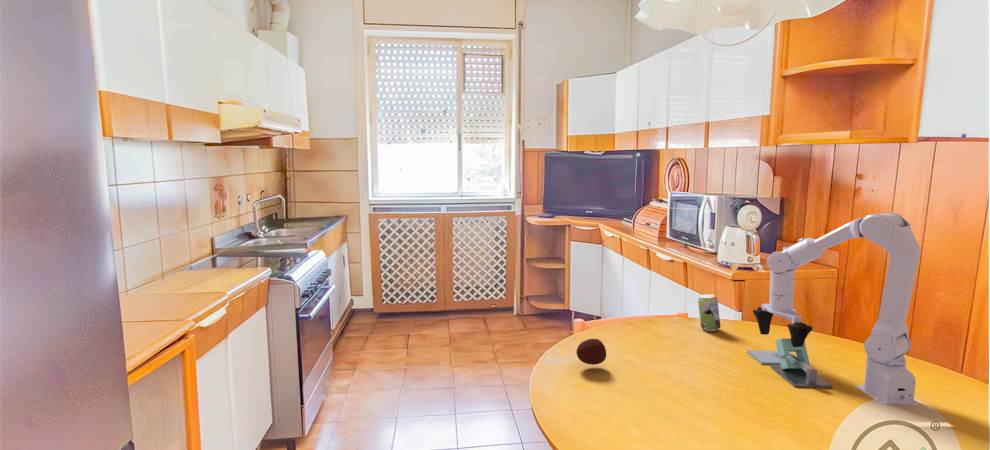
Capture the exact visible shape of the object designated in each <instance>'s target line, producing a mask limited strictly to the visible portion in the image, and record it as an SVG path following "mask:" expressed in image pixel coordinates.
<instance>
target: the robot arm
mask: <svg viewBox="0 0 990 450" xmlns="http://www.w3.org/2000/svg"><path fill="white" fill-rule="evenodd" d="M911 226H912V225H911V223H910V222H909V221H908V220H907V219H905V218H904V217H903V215H900V214H899V213H896V212H893V211H892V212H891V211H890V212H889V211H887V212H884V213H872V214H867V215H865V217H861V218H857V219H854V220H851V221H850V222H849V221H848V222H847V223H845V224H844V225H841V226H840V227H837V228H836V229H834V230H832V231H830V232H828V233H826V234H824V235H822V236H820V237H818V238H817V239H815V238H813V237H812V238H811V237H801V238H799V239H797V241H798V242H797V243H795V244H793V245H790V246H784V247H782V251H773V252H771V254H769V256H768V257H767V259H766V266H767V268H768V269H769V270H770V276H769V278H770V279H769V280H770V281H769V300H768V301H769V303H762V304H761V306H757V309H752V314H754V317H755V319H756V321H757V325H758V329H759V333H760V335H769V333H770V329H771V322H772V319H773V317H774V315H775V316H778V317H780V318H782V319H785V320H787V321H789V322H791V323H789V324H787V328H788V330H789V334H790V339H791V343H792V345H793V347H803V344H804V341H806V339H807V337H808V335H809V334H810V333H811V331H812V330H813V326H811V325H809V324H806V323H804V322H802V315H799V314H798V313H797V310H796V309H794V288H795V287H794V286H795V271H796V270H797V269H798V268H799V267H801V266H803V265H806V264H808V263H811V262H812V261H815V260H818V259H819V258H821V257H823V254H824V251H825V250H828V249H829V248H832V247H834V246H836V245H839V244H841V243H844V242H847V241H849V240H851V239H855V238H856V239H863V238H865V239H867V240H868V241H870V242H872V243H873V244H877V245H878V246H880V248H882V249H883V250H884V251H885V252H886V253H887V254H888V255H889V256H890V258H889V262H888V267H887V270H886V271H887V272H886V277H885V282H884V287H883V293H882V296H881V297H882V298H881V304H880V306H879V307H880V308H879V313H878V317H877V320H876V322H875V324H874V325H873V327H872V329H871V333H870V335H869V337H867V338H866V340H865V341H864V343H863V348H864V351H865V354H867V355H866V365H865V375H864V385H859V384H857V385H856V384H855V388H857V389H858V390H860V391H862V392H863V393H865V394H866V395H867V396H869V397H871V398H872V399H873V400H875V401H877V402H878V403H880V404H881V405H900V406H901V405H902V406H918V403H917V402H915V391H916V382H917V381H916V377H915V375H914V374H913V373H912V372H911V371H910V370H909V369H908V368H907V364H906V363H907V360H906V357H905V356H904V355H905V354H907V353H908V352H909V351H910V350H911V340H910V338H909V332H910V331H909V329H910V328H909V327H908V325H907V319H908V316H909V315H908V314H909V310H910V306H911V301H912V295H913V292H914V291H913V290H914V285H915V280H916V277H917V272H918V267H919V264H920V257H921V246H920V244H919V242H918V240H917V239H916V237H915V234H914V233H913V231H912V227H911ZM793 351H801V350H793Z"/></svg>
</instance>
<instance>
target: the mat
mask: <svg viewBox="0 0 990 450" xmlns="http://www.w3.org/2000/svg"><path fill="white" fill-rule="evenodd" d="M746 353H747V354H748V355H750V356H751V357H752V358H754V360H756V361H757V362H758V363H759V364H760V365H767V366H768V365H770V366H771V365H780V360H783V359H788V358H786V356H784V357H779V355H778V350H757V349H755V350H753V349H752V350H750V349H748V350H746ZM789 353H791V354H793V352H789ZM793 355H794V356H796V354H793ZM791 364H795V363H793V362H792V361H791Z"/></svg>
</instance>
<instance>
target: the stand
mask: <svg viewBox="0 0 990 450" xmlns="http://www.w3.org/2000/svg"><path fill="white" fill-rule="evenodd" d="M791 353H792V352H791ZM791 353H789V355H788V356H786V358H788V359H790V360H791V361H792V362H793V363H795V364H796V365H797V366H799V367H800V368H801V369H781V365H770V368H771V370H773V372H775V373H777V374H778V375H779V376H780V377H781V378H782V379H784V380H785V381H786V382H788V383H789V384H790V385H791V386H792V387H794V388H811V389H813V388H815V389H833V384H831V383H830V382H829V381H828V380H826V379H824V378H823V377H822V376H820V375H819V374H818V369H815V368H812V367H811V365H810V366H808V365H807V364H806V363H804V362H803V361H801V360H800V359H799V358H797V356H796V355H795V354H794V355H795V356H794V355H793V353H792V354H791Z"/></svg>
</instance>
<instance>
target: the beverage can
mask: <svg viewBox="0 0 990 450" xmlns="http://www.w3.org/2000/svg"><path fill="white" fill-rule="evenodd" d="M698 297H699V298H698V299H697V303H698V304H697V305H698V313H699V321H700V327H701V329H702V330H704V331H706V332H715V331H718V330H719V329H721V319H720V311H719V310H720V309H719V302H718V298H717V297H716V295H715V294H711V293H704V294H700V295H699V296H698Z"/></svg>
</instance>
